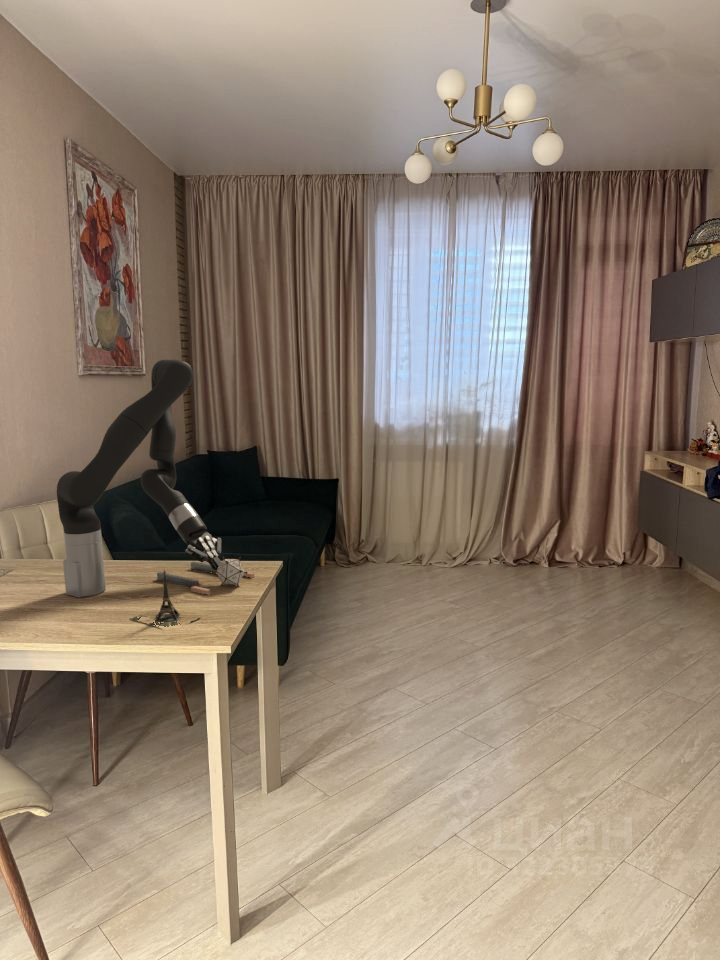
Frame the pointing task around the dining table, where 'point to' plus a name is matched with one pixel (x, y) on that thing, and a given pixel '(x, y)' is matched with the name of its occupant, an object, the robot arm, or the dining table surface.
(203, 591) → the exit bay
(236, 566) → the game die
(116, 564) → the dining table surface
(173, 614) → the eiffel tower figurine
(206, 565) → the chute
